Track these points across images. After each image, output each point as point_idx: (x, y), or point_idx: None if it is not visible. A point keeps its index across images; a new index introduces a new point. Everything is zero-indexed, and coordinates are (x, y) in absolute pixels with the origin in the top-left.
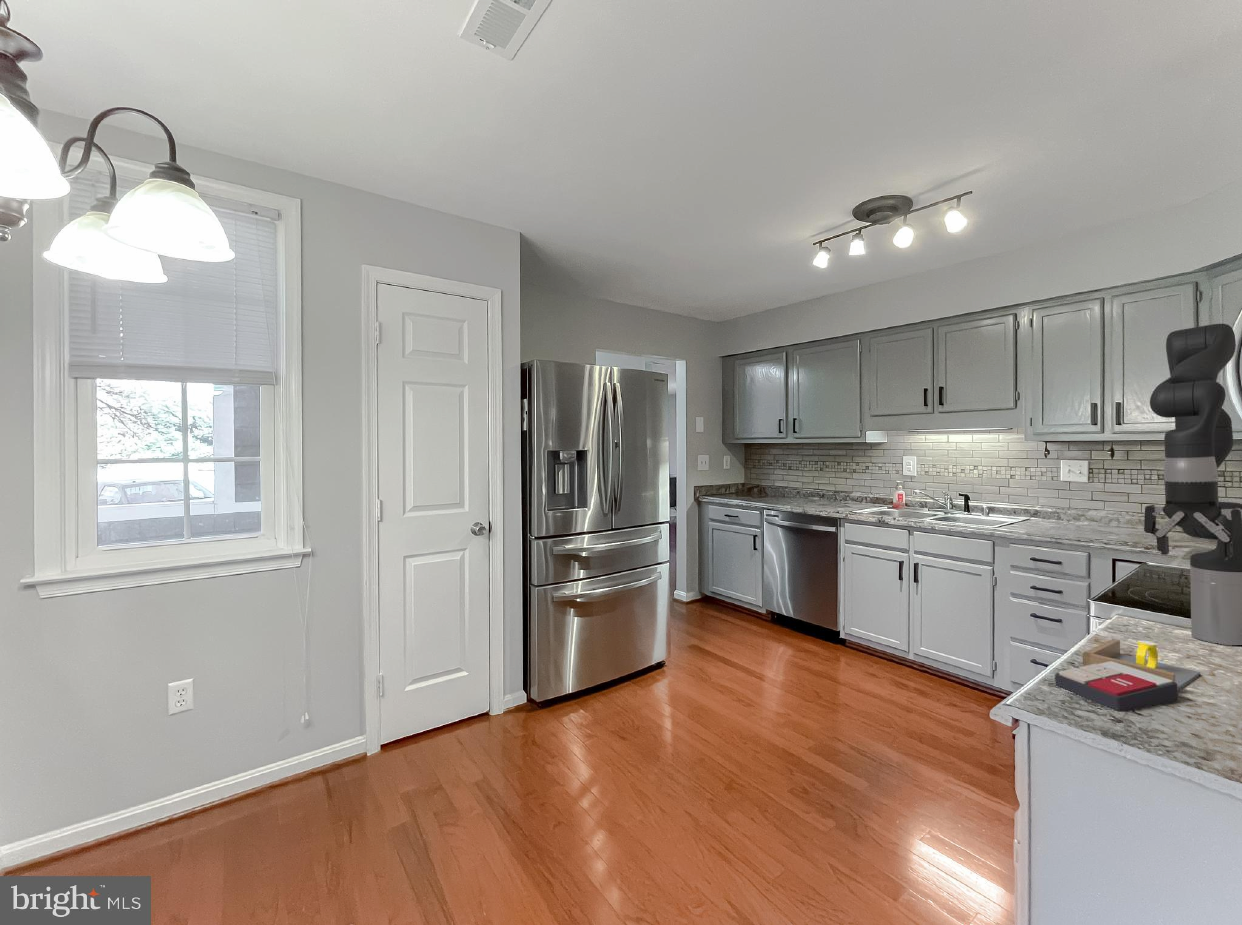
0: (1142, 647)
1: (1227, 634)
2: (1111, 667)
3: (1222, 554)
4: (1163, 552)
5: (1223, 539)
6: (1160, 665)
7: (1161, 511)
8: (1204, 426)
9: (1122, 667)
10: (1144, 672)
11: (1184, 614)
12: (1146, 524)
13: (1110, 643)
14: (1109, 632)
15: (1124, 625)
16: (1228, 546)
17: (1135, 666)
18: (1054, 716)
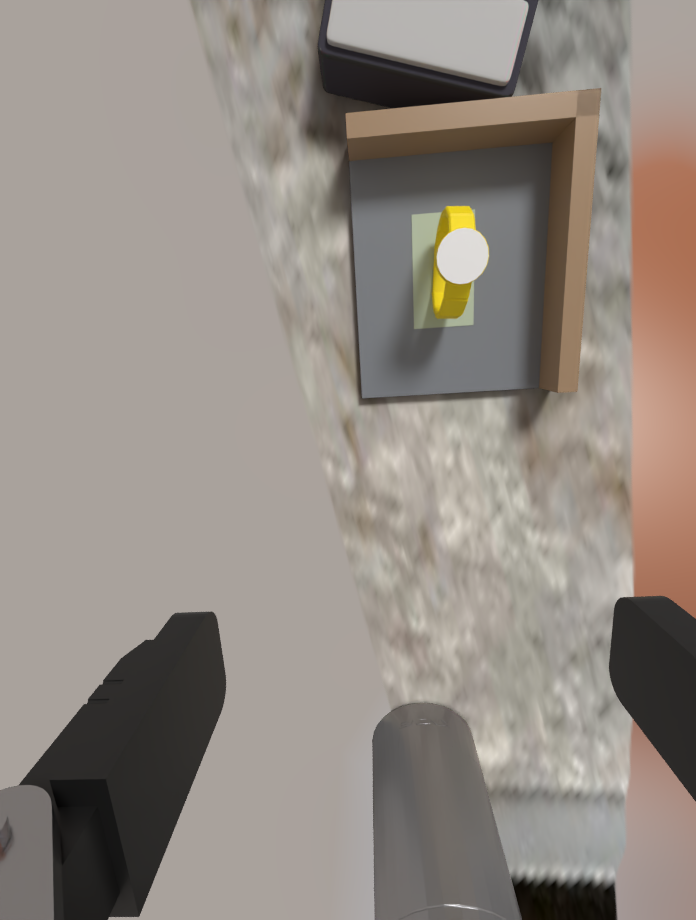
0: (464, 223)
1: (399, 731)
2: (487, 1)
3: (168, 641)
4: (650, 602)
5: (3, 817)
6: (437, 365)
7: None
8: None
9: (463, 38)
10: (403, 45)
11: (531, 901)
12: None
13: (567, 319)
14: None
15: (606, 706)
16: (65, 744)
17: (442, 106)
18: None
